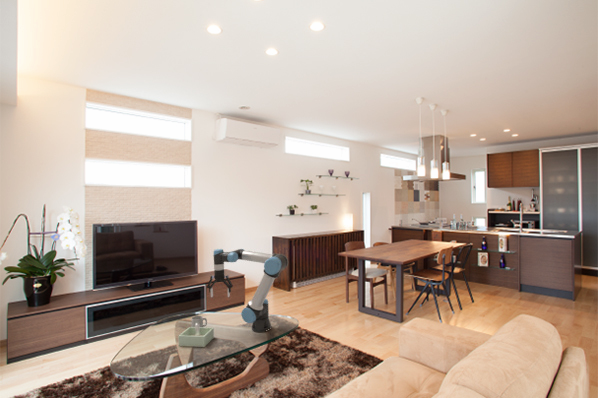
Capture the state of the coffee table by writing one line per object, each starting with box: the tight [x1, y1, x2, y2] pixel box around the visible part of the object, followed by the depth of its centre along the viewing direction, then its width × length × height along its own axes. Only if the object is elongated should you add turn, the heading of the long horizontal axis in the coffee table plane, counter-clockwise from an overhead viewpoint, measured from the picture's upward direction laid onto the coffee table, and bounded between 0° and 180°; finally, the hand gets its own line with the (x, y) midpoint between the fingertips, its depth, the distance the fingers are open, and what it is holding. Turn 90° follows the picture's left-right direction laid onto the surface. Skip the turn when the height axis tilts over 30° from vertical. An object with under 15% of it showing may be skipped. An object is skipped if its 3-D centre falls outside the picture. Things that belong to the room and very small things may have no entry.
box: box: [177, 326, 215, 348], centre depth 238 cm, size 19×16×7 cm
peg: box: [195, 323, 200, 336], centre depth 240 cm, size 3×3×12 cm
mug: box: [190, 315, 208, 328], centre depth 257 cm, size 12×8×11 cm
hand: (220, 296), depth 257 cm, fingers open, 13 cm apart
